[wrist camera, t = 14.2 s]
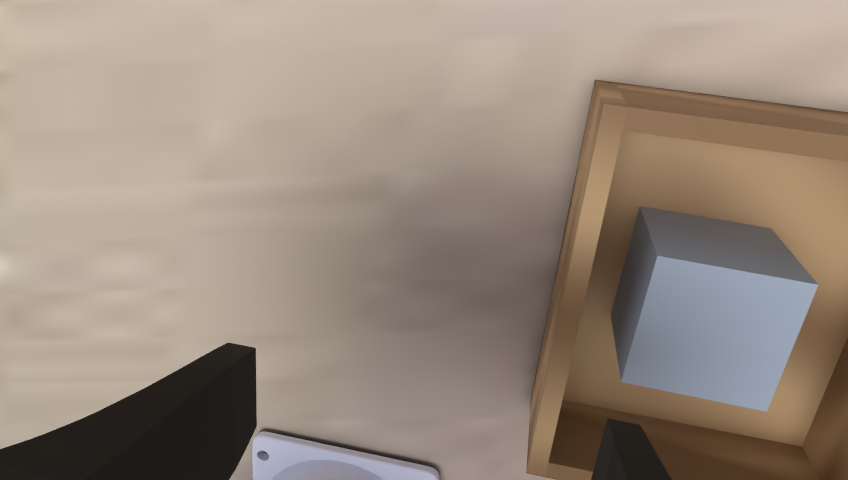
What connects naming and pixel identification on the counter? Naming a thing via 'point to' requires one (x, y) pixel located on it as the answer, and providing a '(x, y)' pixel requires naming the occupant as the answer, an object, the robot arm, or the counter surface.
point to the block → (708, 308)
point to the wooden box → (714, 198)
